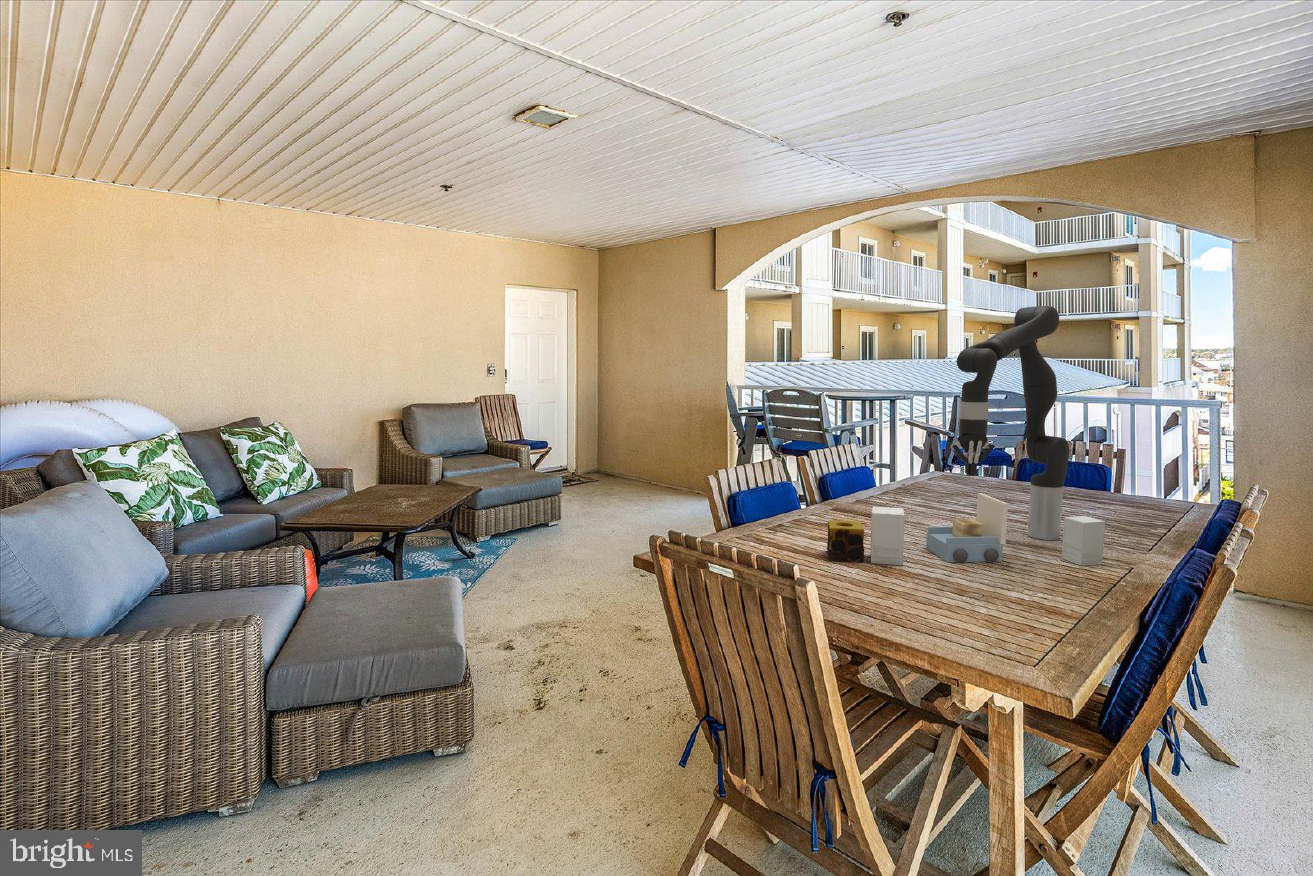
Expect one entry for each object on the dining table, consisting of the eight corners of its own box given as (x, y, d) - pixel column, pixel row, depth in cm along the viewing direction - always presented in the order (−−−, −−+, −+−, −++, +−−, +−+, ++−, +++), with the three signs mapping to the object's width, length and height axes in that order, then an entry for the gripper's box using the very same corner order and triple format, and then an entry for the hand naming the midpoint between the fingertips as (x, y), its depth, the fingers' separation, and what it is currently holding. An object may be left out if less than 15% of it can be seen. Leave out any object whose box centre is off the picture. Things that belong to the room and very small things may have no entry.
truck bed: (975, 546, 205) (976, 524, 204) (1003, 562, 189) (1004, 538, 188) (925, 547, 204) (926, 525, 203) (948, 563, 189) (950, 539, 188)
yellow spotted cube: (864, 563, 189) (865, 529, 188) (828, 561, 191) (829, 528, 190) (860, 552, 199) (861, 520, 198) (826, 551, 201) (827, 519, 200)
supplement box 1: (902, 557, 195) (904, 507, 193) (903, 566, 186) (905, 514, 184) (870, 554, 197) (872, 505, 196) (869, 563, 189) (871, 512, 187)
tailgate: (979, 531, 203) (982, 493, 202) (1005, 544, 189) (1007, 503, 188) (975, 531, 203) (977, 493, 202) (1000, 544, 189) (1003, 503, 188)
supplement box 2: (1103, 564, 186) (1106, 521, 185) (1080, 566, 185) (1083, 522, 184) (1082, 557, 194) (1085, 515, 192) (1060, 558, 192) (1063, 516, 191)
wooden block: (971, 535, 199) (972, 519, 198) (981, 540, 193) (982, 524, 193) (952, 535, 199) (952, 519, 198) (961, 541, 193) (962, 524, 192)
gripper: (988, 415, 196) (985, 473, 198) (945, 416, 195) (942, 473, 197) (1003, 418, 188) (999, 477, 190) (957, 418, 188) (954, 478, 190)
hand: (970, 475), depth 194 cm, fingers closed
